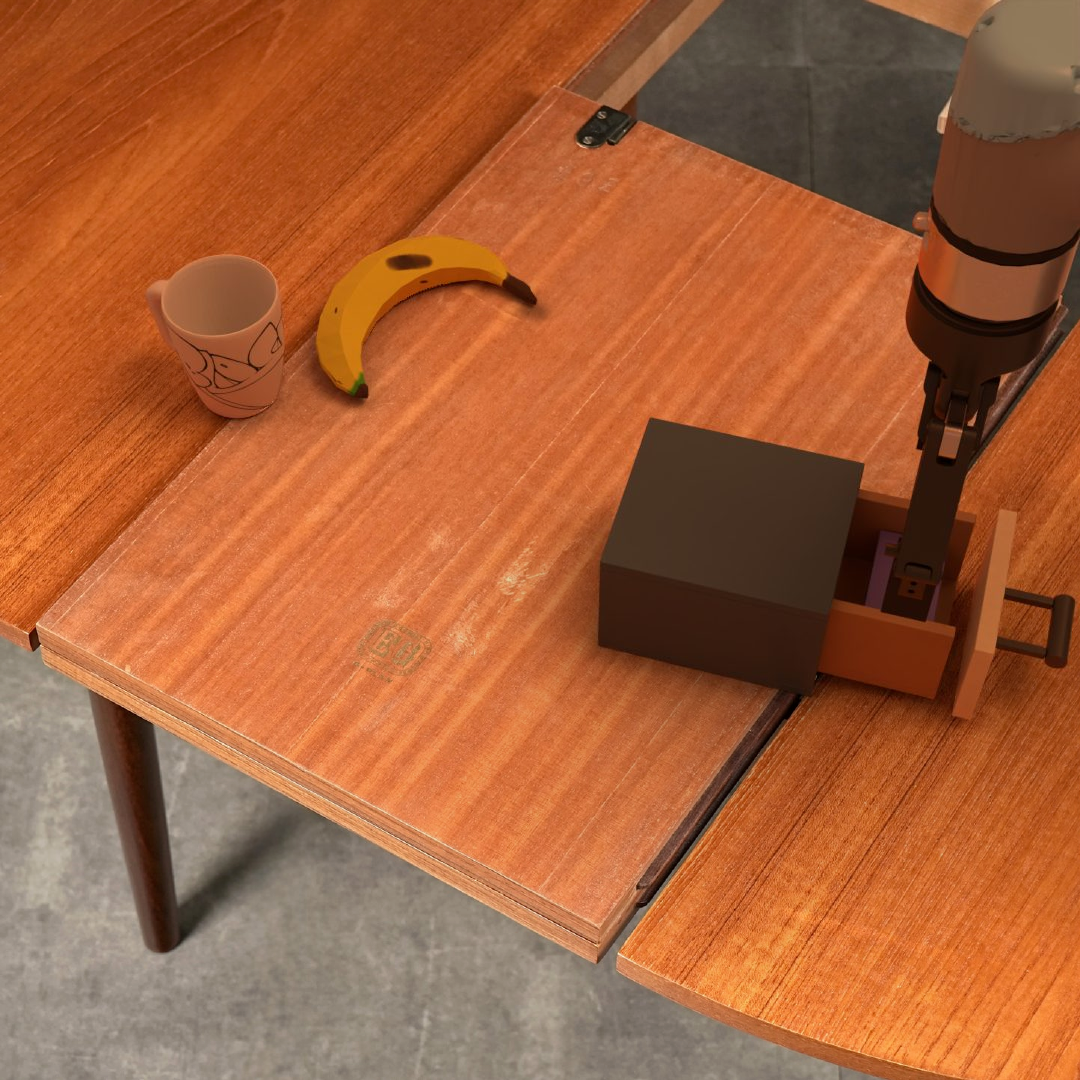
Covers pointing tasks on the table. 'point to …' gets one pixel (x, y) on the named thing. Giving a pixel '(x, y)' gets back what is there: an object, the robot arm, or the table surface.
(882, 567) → the purple block
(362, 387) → the banana
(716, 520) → the cabinet
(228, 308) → the mug
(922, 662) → the drawer
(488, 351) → the table surface
